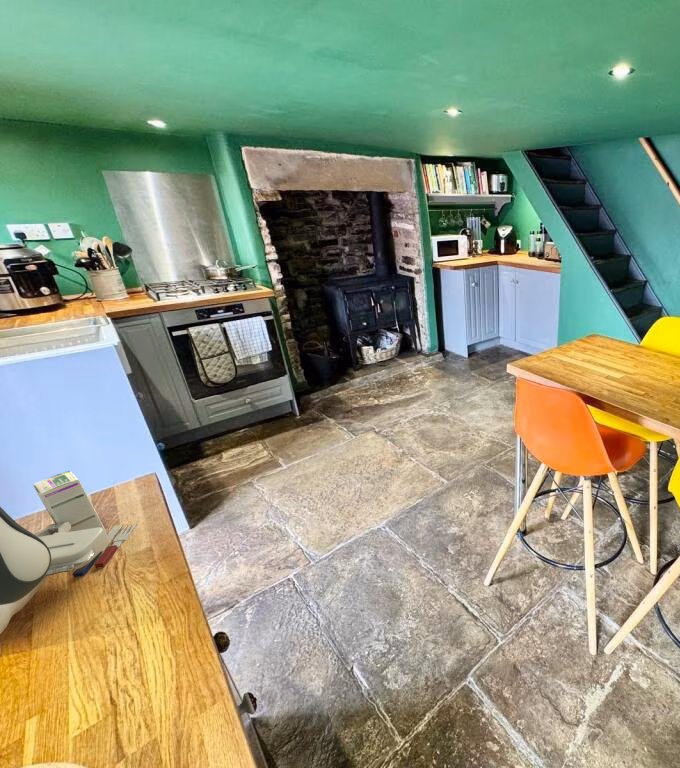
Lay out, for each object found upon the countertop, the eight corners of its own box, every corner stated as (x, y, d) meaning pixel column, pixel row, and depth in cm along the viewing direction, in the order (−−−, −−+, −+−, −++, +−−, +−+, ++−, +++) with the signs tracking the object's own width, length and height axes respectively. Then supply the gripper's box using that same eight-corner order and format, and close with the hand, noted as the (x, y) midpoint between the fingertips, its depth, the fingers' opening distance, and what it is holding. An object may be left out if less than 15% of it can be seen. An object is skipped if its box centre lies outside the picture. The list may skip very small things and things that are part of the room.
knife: (74, 577, 77) (72, 574, 77) (114, 527, 89) (112, 523, 89) (84, 575, 78) (82, 572, 77) (123, 525, 90) (121, 522, 89)
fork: (93, 569, 79) (91, 565, 79) (125, 526, 89) (123, 523, 89) (107, 566, 80) (105, 562, 79) (137, 524, 90) (135, 521, 90)
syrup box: (107, 532, 88) (81, 477, 82) (70, 549, 83) (39, 493, 77) (97, 522, 90) (71, 468, 85) (61, 538, 86) (30, 483, 80)
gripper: (75, 555, 71) (118, 503, 83) (-85, 582, 65) (-13, 523, 77) (89, 580, 73) (129, 527, 85) (-63, 609, 67) (3, 547, 79)
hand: (61, 525), depth 81 cm, fingers closed
